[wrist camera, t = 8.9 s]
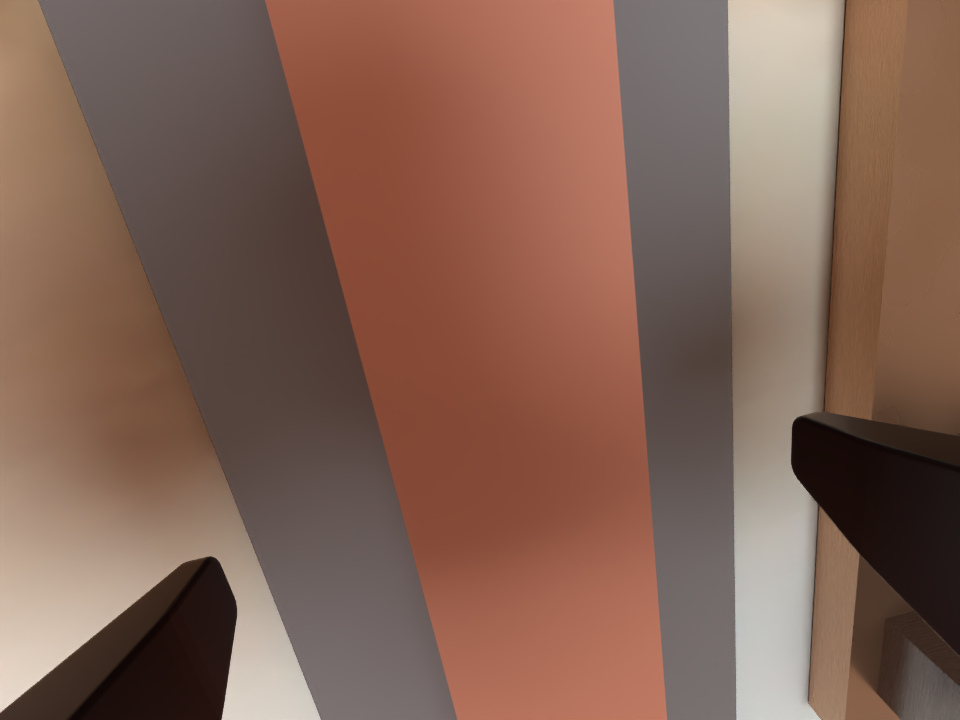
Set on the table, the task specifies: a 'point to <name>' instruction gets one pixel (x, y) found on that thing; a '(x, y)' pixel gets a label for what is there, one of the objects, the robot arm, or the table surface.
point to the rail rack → (891, 336)
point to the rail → (495, 330)
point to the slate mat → (333, 348)
